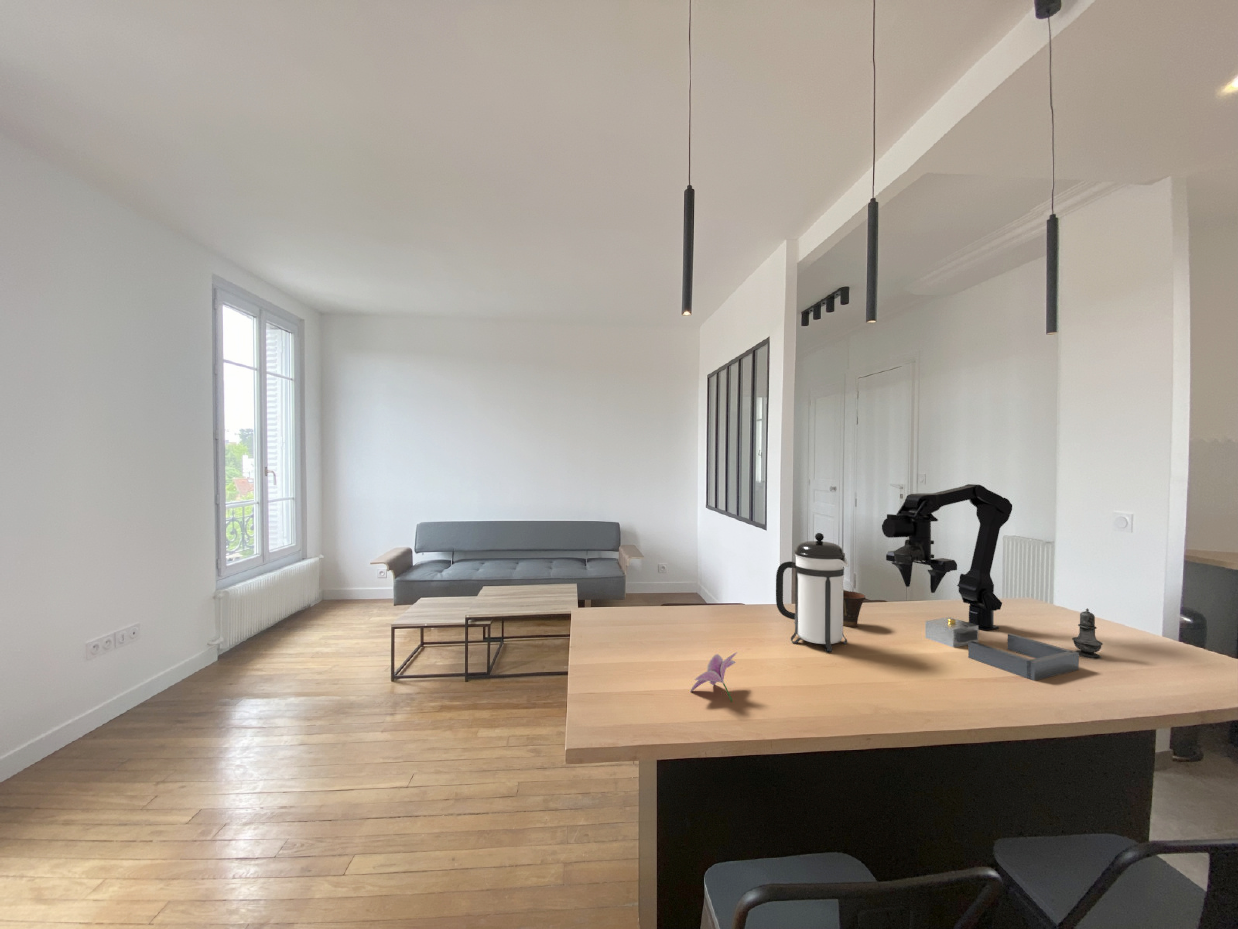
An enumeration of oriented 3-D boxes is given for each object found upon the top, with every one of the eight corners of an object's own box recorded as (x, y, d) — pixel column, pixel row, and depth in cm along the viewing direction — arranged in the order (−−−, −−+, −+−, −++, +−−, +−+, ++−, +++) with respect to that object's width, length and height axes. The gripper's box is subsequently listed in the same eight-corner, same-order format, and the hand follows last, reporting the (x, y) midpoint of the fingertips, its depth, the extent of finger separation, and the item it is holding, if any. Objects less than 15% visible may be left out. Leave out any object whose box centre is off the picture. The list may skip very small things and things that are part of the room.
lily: (744, 689, 112) (725, 646, 115) (763, 690, 101) (741, 643, 105) (695, 712, 110) (677, 667, 113) (709, 715, 99) (689, 666, 102)
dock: (1011, 648, 135) (1011, 633, 135) (1078, 669, 121) (1078, 652, 121) (968, 657, 129) (968, 641, 129) (1034, 680, 115) (1034, 663, 115)
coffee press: (836, 633, 146) (837, 529, 146) (857, 654, 130) (858, 537, 130) (775, 631, 148) (775, 528, 148) (787, 651, 132) (788, 536, 132)
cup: (875, 627, 150) (869, 593, 150) (844, 631, 150) (839, 597, 150) (861, 619, 158) (856, 587, 159) (832, 623, 159) (827, 591, 159)
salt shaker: (1075, 656, 130) (1076, 609, 130) (1068, 649, 135) (1068, 604, 135) (1106, 661, 127) (1106, 612, 127) (1098, 653, 132) (1098, 607, 132)
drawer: (949, 634, 147) (949, 613, 147) (980, 644, 139) (981, 622, 139) (925, 638, 143) (925, 617, 143) (955, 649, 135) (956, 626, 135)
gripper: (872, 534, 155) (873, 585, 156) (931, 543, 138) (931, 600, 138) (898, 532, 160) (899, 581, 160) (958, 540, 143) (958, 596, 143)
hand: (919, 589), depth 150 cm, fingers open, 8 cm apart
